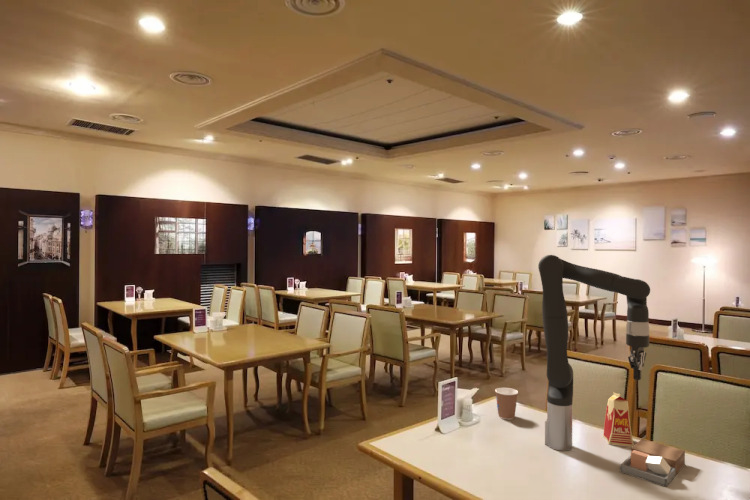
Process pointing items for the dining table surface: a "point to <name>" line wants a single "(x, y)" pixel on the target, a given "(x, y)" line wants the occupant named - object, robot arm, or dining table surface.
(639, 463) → the salmon square block
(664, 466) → the tile cream
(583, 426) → the dining table surface
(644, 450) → the bronze square platform
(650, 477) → the tray
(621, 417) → the milk carton
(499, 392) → the coffee cup
